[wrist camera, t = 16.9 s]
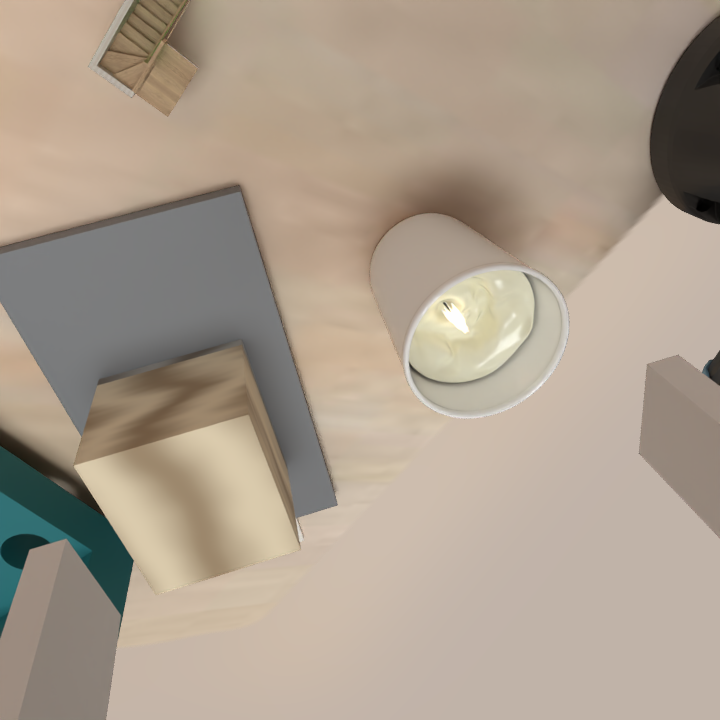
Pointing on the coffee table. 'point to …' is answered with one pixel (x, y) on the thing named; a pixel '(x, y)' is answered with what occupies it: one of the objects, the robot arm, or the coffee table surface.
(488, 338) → the candle holder
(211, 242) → the board
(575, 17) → the coffee table surface
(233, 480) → the block
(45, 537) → the teal l-shaped bracket
